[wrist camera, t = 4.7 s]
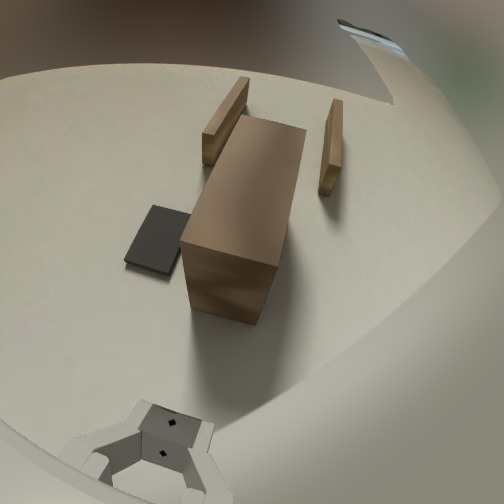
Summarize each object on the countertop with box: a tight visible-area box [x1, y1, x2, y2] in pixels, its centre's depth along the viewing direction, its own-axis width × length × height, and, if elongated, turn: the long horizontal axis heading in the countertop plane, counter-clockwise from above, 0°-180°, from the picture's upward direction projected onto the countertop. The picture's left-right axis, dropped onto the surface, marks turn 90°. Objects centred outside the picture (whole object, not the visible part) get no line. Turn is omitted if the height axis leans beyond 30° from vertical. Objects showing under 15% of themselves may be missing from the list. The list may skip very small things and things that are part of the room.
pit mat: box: [124, 205, 191, 275], centre depth 25 cm, size 4×6×1 cm, turn 166°
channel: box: [202, 76, 343, 196], centre depth 33 cm, size 13×14×4 cm
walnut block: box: [180, 114, 307, 326], centre depth 22 cm, size 5×12×9 cm, turn 166°
